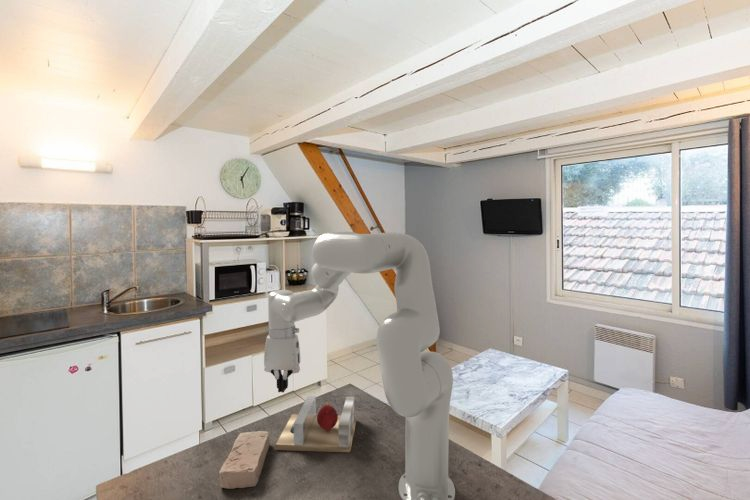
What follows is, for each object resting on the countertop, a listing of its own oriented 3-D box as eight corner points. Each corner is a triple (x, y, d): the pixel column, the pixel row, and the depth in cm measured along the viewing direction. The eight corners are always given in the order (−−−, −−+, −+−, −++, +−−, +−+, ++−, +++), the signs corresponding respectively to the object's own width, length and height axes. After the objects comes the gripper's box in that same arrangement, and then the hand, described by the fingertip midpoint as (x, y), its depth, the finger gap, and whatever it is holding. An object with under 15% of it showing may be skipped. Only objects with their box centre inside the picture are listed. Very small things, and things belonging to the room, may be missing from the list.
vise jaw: (303, 445, 94) (302, 423, 93) (288, 444, 94) (288, 423, 93) (316, 414, 109) (315, 396, 108) (303, 414, 109) (303, 395, 108)
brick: (239, 446, 96) (239, 429, 96) (270, 444, 97) (270, 428, 97) (218, 492, 80) (217, 473, 79) (256, 489, 81) (255, 470, 80)
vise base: (350, 452, 93) (349, 425, 92) (275, 449, 94) (275, 423, 94) (356, 420, 108) (356, 397, 107) (292, 418, 109) (291, 395, 109)
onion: (341, 428, 101) (341, 401, 101) (329, 438, 97) (328, 410, 96) (326, 422, 104) (325, 396, 104) (313, 431, 100) (312, 404, 99)
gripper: (309, 328, 109) (309, 385, 111) (262, 327, 110) (263, 383, 111) (303, 336, 101) (303, 397, 103) (252, 334, 102) (253, 395, 104)
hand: (282, 390), depth 107 cm, fingers closed
